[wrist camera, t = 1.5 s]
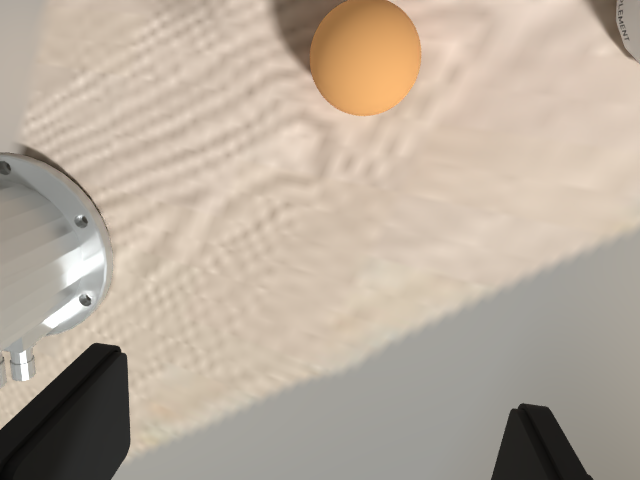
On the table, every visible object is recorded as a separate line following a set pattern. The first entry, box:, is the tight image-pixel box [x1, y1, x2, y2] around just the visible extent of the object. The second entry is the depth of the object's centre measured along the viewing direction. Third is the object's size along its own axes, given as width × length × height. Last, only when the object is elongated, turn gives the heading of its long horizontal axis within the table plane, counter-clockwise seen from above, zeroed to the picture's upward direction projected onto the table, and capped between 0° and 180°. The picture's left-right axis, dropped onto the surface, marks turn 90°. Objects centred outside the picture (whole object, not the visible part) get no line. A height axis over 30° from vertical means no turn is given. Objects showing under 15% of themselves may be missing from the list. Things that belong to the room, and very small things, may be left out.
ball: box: [310, 0, 421, 116], centre depth 23 cm, size 6×6×6 cm
